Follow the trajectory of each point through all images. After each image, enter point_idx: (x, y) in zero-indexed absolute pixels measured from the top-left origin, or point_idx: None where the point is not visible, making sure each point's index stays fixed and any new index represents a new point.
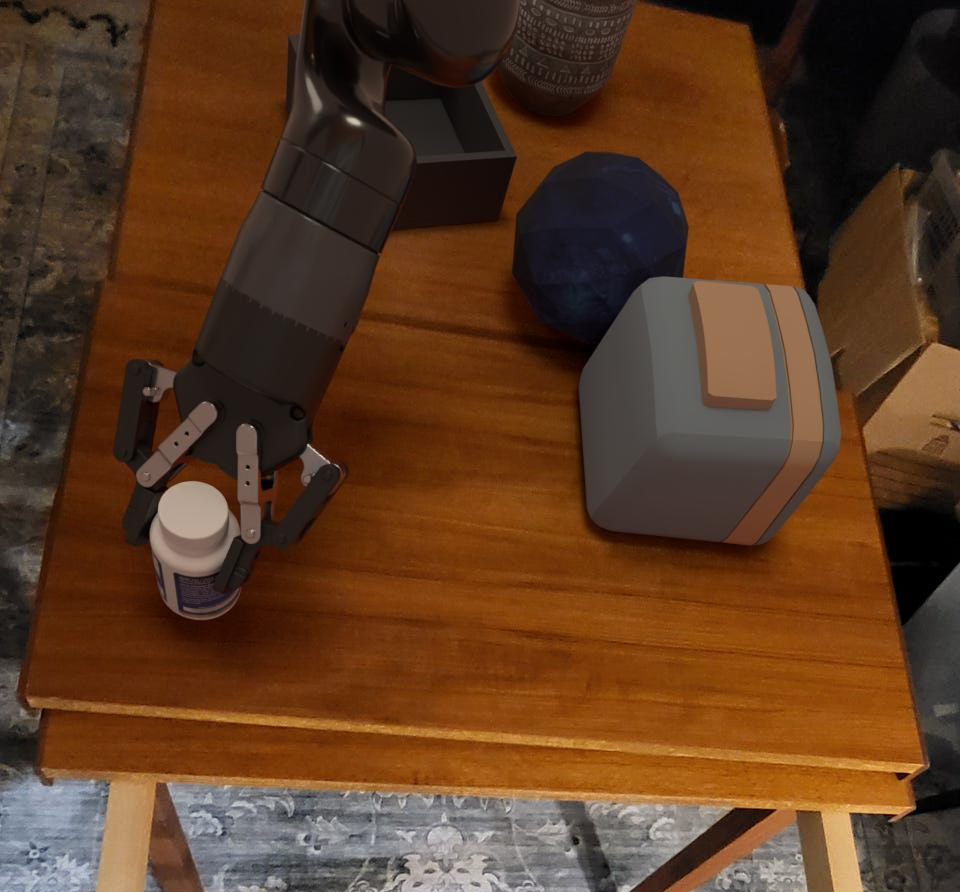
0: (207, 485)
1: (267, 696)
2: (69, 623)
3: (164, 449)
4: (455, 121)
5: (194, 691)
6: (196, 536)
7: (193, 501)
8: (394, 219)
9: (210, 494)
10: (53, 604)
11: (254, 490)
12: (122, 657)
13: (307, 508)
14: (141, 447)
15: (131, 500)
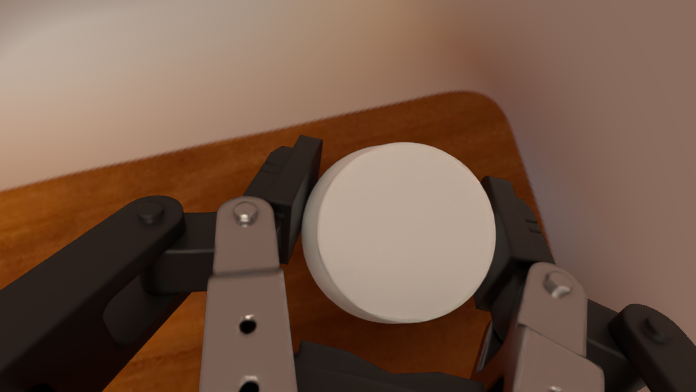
0: (398, 316)
1: (261, 146)
2: (496, 163)
3: (578, 365)
4: None
5: (340, 128)
6: (370, 154)
7: (415, 252)
8: None
9: (381, 292)
10: (522, 180)
11: (218, 306)
12: (427, 143)
13: (14, 304)
14: (609, 372)
15: (543, 242)
